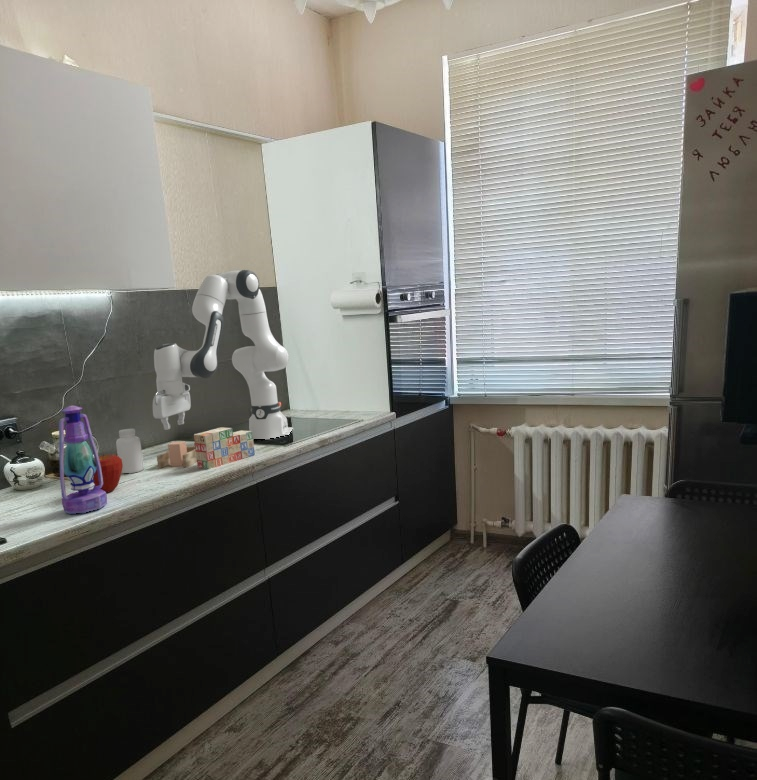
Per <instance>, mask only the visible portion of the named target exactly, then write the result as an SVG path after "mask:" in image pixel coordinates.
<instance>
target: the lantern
mask: <svg viewBox="0 0 757 780" xmlns="http://www.w3.org/2000/svg"><path fill="white" fill-rule="evenodd" d="M83 409H84V408H83V407H81V406H77V405H68V406H67V407H65V408H63V409H61V410H60V412H63V414H65V415H64V417H62V418H60V419H59V420H58V435H59V436H58V440H59V441H58V443H59V444H58V449H59V450H58V451H59V453H58V454H59V481H60V490H61V498H62V499H61V504H62V508H63V511H64V512H65V513H67V514H69V515H77V514H76V513H82V514H86V512H88V513H90V512H89V511H91V512H94V511H93V510H95V511H98V510H97V509H99V510H100V509H101V508H103V507H104V506H106V505H107V504H108V497H107V492H105V491H103V490H101V489H99V488H101V487H102V485H103V477H102V470H101V465H100V461H99V457H100V456H99V453H98V450H97V446H96V443H95V440H94V436H93V434H92V430H91V426H90V421H89V419H88V416H87V414H84V413H80V412H81V411H82V410H83ZM81 418H82V419H83V421H84V422H83V421H82V420H81ZM65 422H66V423H65ZM85 429H86V431H85ZM87 440H89V444H90V445H89V444H88V442H87ZM65 443H66V446H65ZM90 446H91V448H90ZM94 458H95V459H94ZM95 461H96V462H95ZM96 469H97V471H98V478H99V485H98V486H95V484H94V483H93V482H94V480H93V477H94V474H95V472H96ZM65 476H66V478H67V479H68V480H69V481H70V486H71V487H70V490H72V491H73V492H70V493H69V494H67V489H66V482H65V481H66V480H65ZM94 486H95V487H94Z"/></svg>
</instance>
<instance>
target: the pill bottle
mask: <svg viewBox="0 0 757 780" xmlns="http://www.w3.org/2000/svg"><path fill="white" fill-rule="evenodd" d="M118 437H119V438H117V439H116V442H115V445H116V446H115V447H116V452H117V456H118V457H120V458H121V459H122V464H123V468H122V473H129V474H134V473H139V472H142V471H143V470H144V467H145V465H144V460H143V459H144V458H143V452H142V445H141V439H140V437H139V436H137V435H136V429H135V428H125V429H120V430H118ZM122 473H121V474H122Z"/></svg>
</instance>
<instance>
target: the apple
mask: <svg viewBox="0 0 757 780" xmlns="http://www.w3.org/2000/svg"><path fill="white" fill-rule="evenodd" d="M94 459H95V457H94ZM99 461H100V465H101V470H102V477H103V485H102V487H101V488H99V489H101V490H103V491H105V492H106V493H110V491H111V492H113V491H115V489H117V487H118V486H119V483H120V479H121V477H122V468H123V464H122V459H121V458H120V457H118V454H117V455H116V454H106V455H105V454H104V453H102V456H99ZM95 462H96V461H95ZM93 480H94V482H93V483H94V484H95V486H98V485H99V478H98V471H97V469H96V472H95V474H94V477H93ZM95 486H93V488H94V487H95Z"/></svg>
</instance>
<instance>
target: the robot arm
mask: <svg viewBox="0 0 757 780" xmlns="http://www.w3.org/2000/svg"><path fill="white" fill-rule="evenodd" d="M227 300H236V302H237V303H238V305H237V306H238V315H239V320H240V327H241V333H242V334H243V335H244V336H245V337H247V338H249V339H250V340H251V341H252V342H253V344H254V345H250V346H249V345H248V346H244V347H240V348H237V349H235V350H234V352H233V353H232V356H231V363H232V367H234V369H235V370H237V371H238V372H239V373H240V374H241V375H242V376H243V378H244V379H245V381H246V383H247V386H248V390H249V396H250V402H251V405H250V413H251V416H250V417H249V418H248V425H249V426H248V427H249V430H248V431H252V436H253V440H254V439H265V440H271V439H270V438H274V439H277V438H276V437H279V438H281V437H280V436H284V437H286V436H285V435H289V434H290V432H291V431H292V429H293V430H294V427H292V426H291V427H290V426H288V425H289V424H288V419H287V417H286V416H285V415H284V414H283V413H282V412H281V407H282V403H281V401H278V400H279V399H278V392H277V385H276V384H275V383H274V381H272V380H270V379H269V378H268V377H267V376H266V374H265V372H277V371H280V370H284V369H286V367H287V365H288V363H289V359H290V358H289V357H290V356H289V352H288V351H287V349H286V348H285V347H284V346H283V345H281V344H280V343H279V342H278V341H277V340H276V339H275V337H274V335H273V333H272V332H271V328H270V325H269V321H268V314H267V308H266V303H265V300H264V297H263V293H262V291H261V289H260V280H259V277H258V276H257V274H256V273H255V272H254V271H252V270H249V269H242V270H237V269H236V270H230V271H225V272H220V273H216V274H209V275H207V276H206V277H205V278H204V279H203V280H202V282H201V284H200V285H199V288H198V289H197V292H196V294H195V298H194V300H193V303H192V307H191V313H192V315H193V317H194V318H195V319H196V320H197V322H200V323H201V324H203V325H204V326H205V332H204V337H203V341H202V345H201V346H200V348H199V349H198V350H188V349H184V348H183V347H181V346H179V345H178V344H177V343H176V342H167V343H162V344H159V345H157V346H156V347H155V348H154V351H153V364H154V366H153V367H154V370H155V374H156V380H155V381H156V390H157V391H156V392H155V394H154V395H153V399H152V416H153V418H154V419H155V420H157V419H159V420H160V422H161V424H162V425H163V430H165V431H167V430H171V428H172V427H171V423H169V417H171V416H175V415H177V416H178V419H177V425H178V426H181V425H184V424H185V421H184V420H185V415H186V412H187V411H189V410H190V409H191V407H192V405H191V404H192V403H191V394H190V390H191V385H189V384H187V383H185V382H183V378H201V379H208V378H211V377H213V376H214V375H215V373H216V372H217V370H218V367H219V350H220V345H221V342H222V337H223V332H224V327H225V326H224V324H225V319H224V316H223V310H224V308H225V304H226V301H227ZM292 432H293V431H292ZM292 432H291V433H292ZM290 435H291V434H290ZM290 435H289V436H290Z"/></svg>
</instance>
